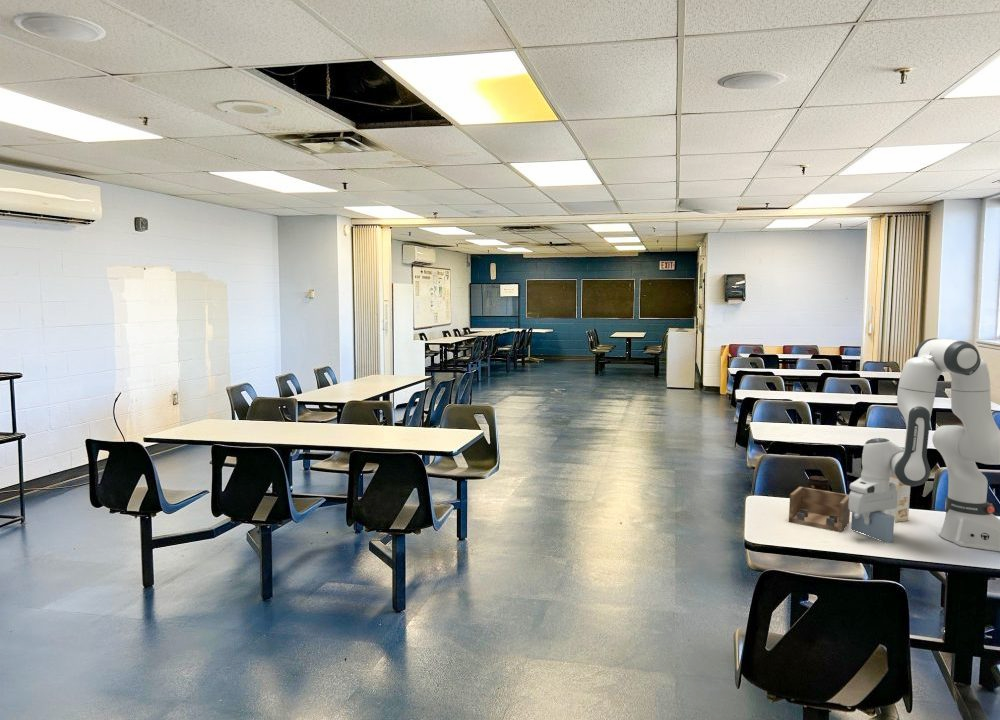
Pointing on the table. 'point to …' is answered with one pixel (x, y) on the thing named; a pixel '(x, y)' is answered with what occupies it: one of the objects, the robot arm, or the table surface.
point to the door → (875, 525)
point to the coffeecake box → (900, 500)
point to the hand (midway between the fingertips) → (872, 523)
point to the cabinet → (819, 508)
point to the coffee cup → (819, 483)
